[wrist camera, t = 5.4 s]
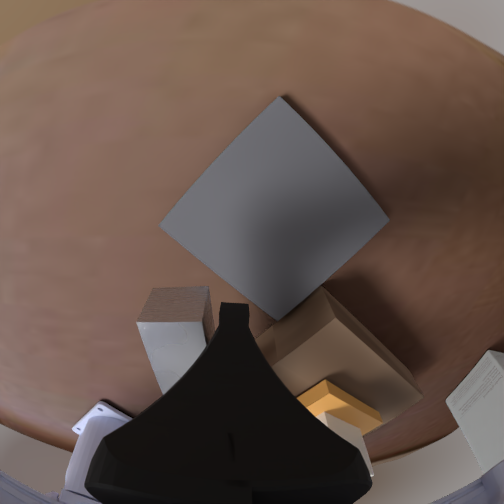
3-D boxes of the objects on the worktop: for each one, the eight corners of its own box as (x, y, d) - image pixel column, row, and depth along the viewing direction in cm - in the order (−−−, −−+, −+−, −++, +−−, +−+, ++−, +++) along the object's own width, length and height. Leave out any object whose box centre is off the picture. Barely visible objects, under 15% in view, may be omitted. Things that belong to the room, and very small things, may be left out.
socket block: (295, 441, 22) (300, 468, 19) (186, 390, 18) (180, 424, 16) (409, 370, 19) (424, 397, 16) (320, 284, 15) (335, 317, 12)
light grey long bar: (239, 442, 16) (239, 484, 13) (209, 442, 16) (207, 484, 13) (212, 267, 11) (201, 321, 8) (162, 270, 11) (136, 321, 8)
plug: (300, 419, 20) (314, 504, 13) (242, 390, 19) (243, 493, 11) (365, 378, 19) (399, 467, 11) (313, 340, 17) (346, 453, 9)
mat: (276, 316, 16) (277, 321, 15) (160, 222, 14) (158, 225, 13) (385, 217, 14) (390, 220, 13) (277, 97, 11) (279, 95, 11)
